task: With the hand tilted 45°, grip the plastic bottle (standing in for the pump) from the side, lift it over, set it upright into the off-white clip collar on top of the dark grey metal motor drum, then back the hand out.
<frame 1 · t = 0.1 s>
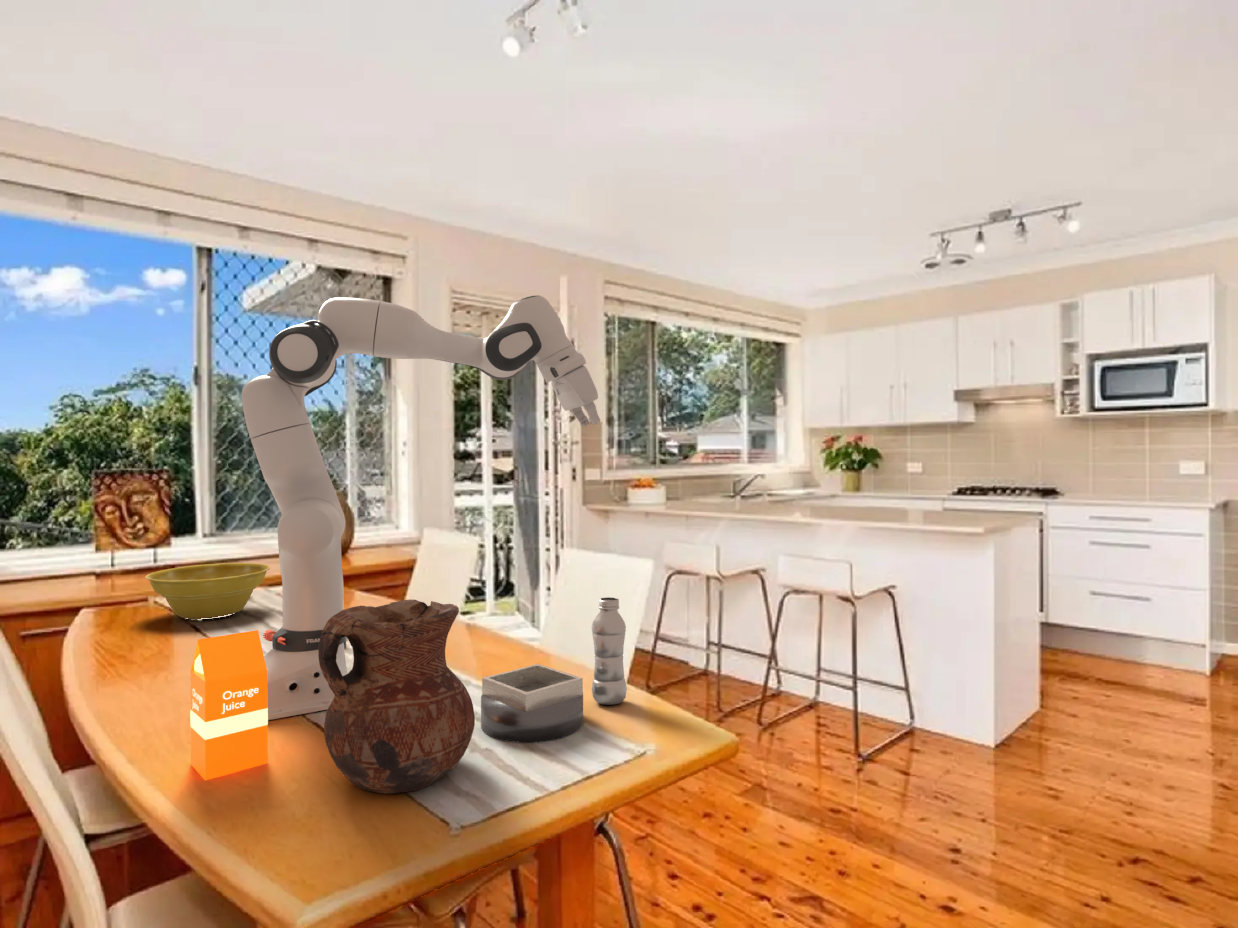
hand: (591, 424, 159), 54 cm above the table, tool tilted 30°, fingers open, 8 cm apart
jug: (401, 775, 110), on the table
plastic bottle: (609, 703, 141), on the table
planter bowl: (210, 616, 217), on the table
motor: (532, 722, 131), on the table
orange juice: (229, 765, 113), on the table
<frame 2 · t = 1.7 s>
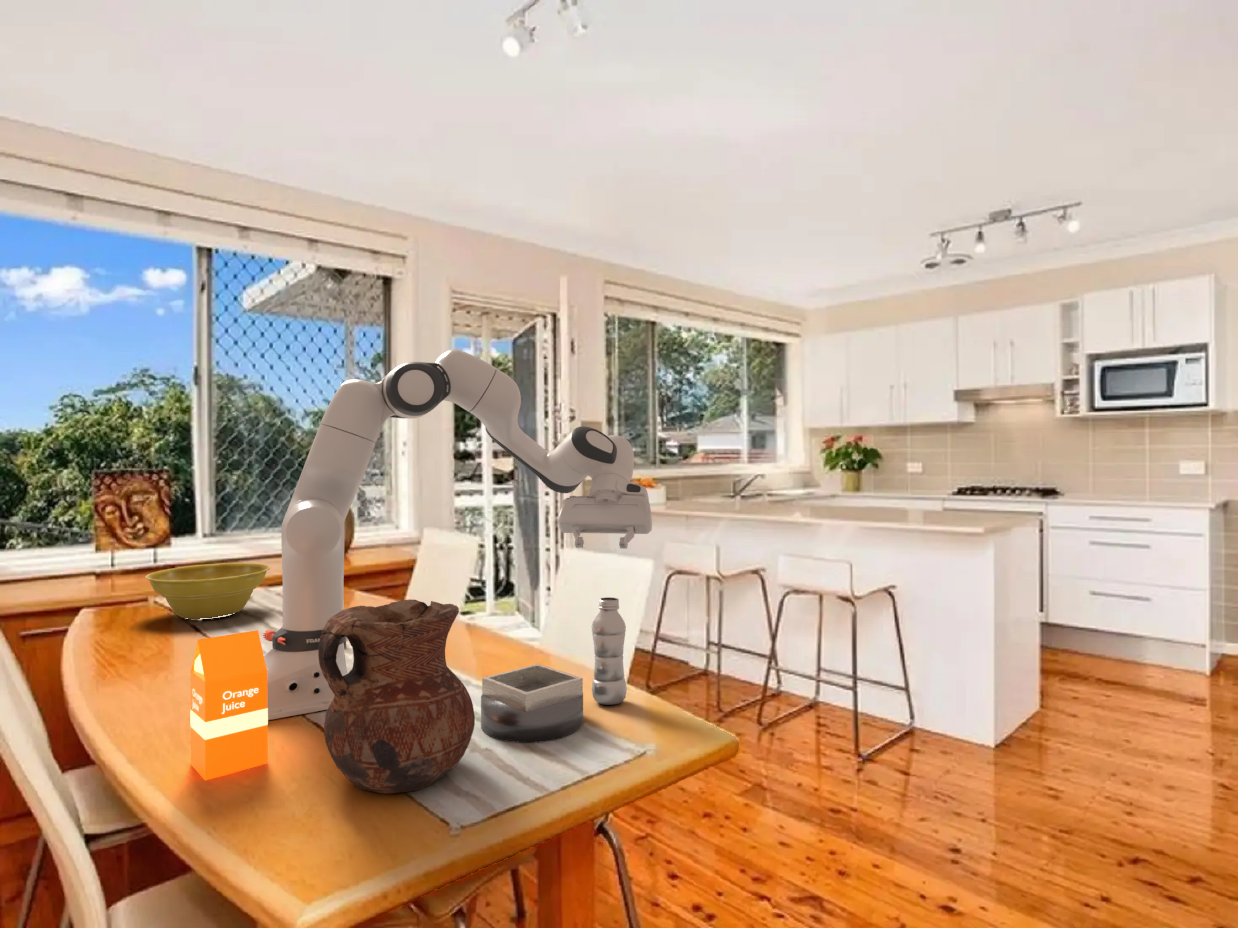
hand: (600, 546, 153), 29 cm above the table, tool tilted 45°, fingers open, 8 cm apart
nothing on the table moved.
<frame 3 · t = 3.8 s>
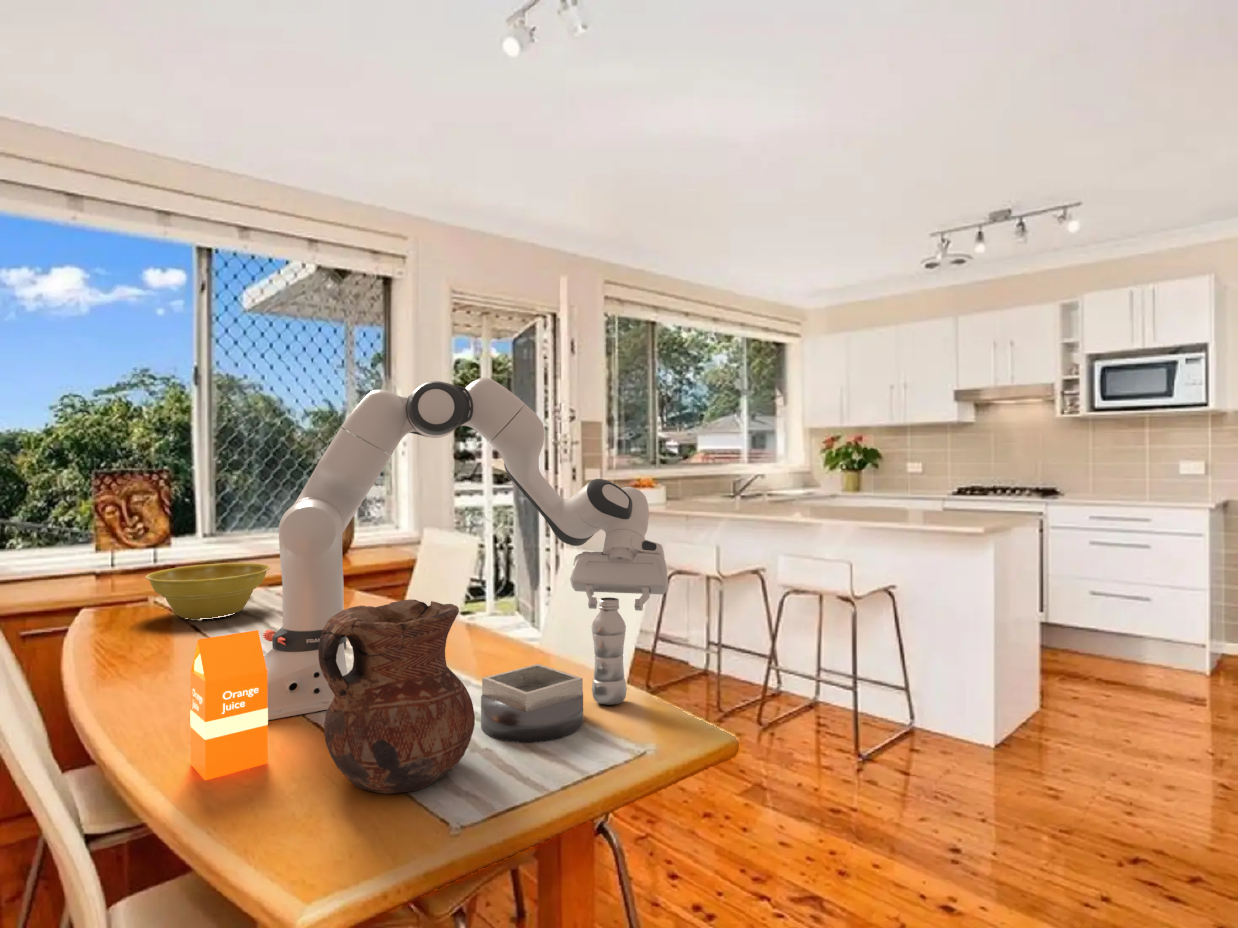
hand: (615, 608, 148), 17 cm above the table, tool tilted 45°, fingers open, 8 cm apart
nothing on the table moved.
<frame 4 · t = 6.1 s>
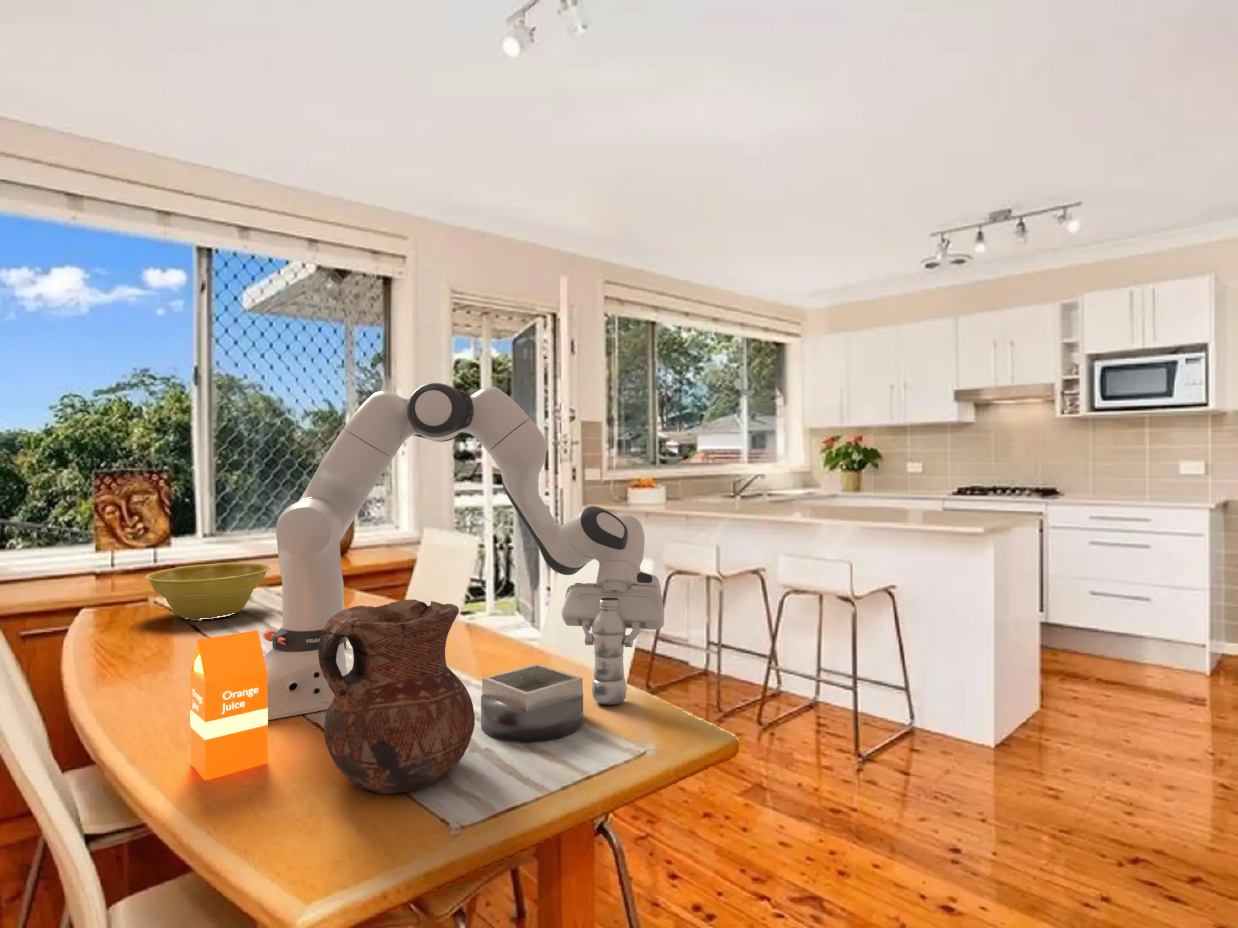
hand: (608, 644, 141), 11 cm above the table, tool tilted 45°, fingers closed on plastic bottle, 6 cm apart
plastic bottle: (609, 703, 141), on the table, touching gripper
everything else where it was.
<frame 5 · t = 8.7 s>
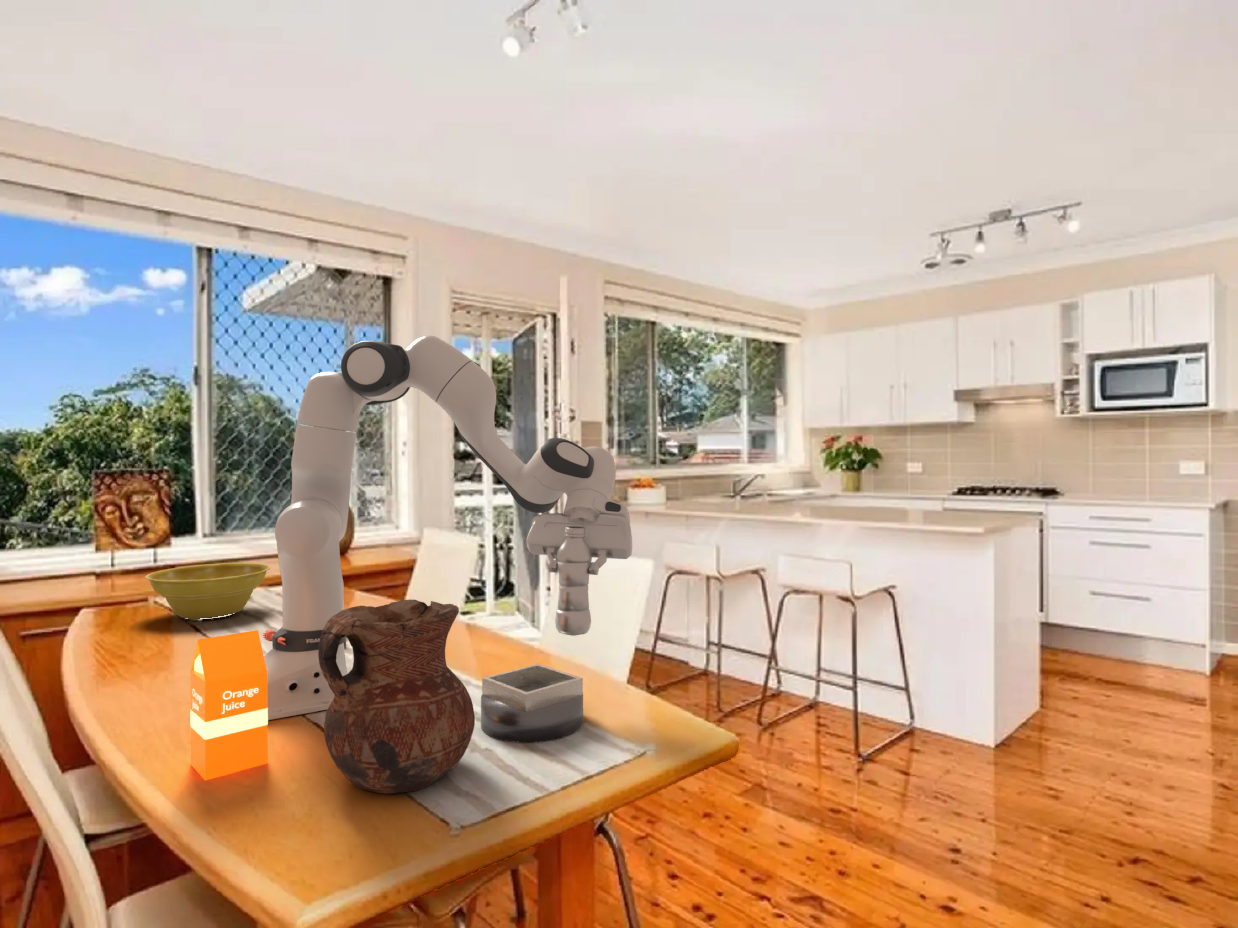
hand: (572, 571, 136), 26 cm above the table, tool tilted 45°, fingers closed on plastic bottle, 6 cm apart
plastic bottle: (572, 635, 137), point 14 cm above the table, touching gripper
everything else where it was.
when the fingers open (18 cm above the table, at t = 11.7 s): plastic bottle stays where it is, resting on motor.
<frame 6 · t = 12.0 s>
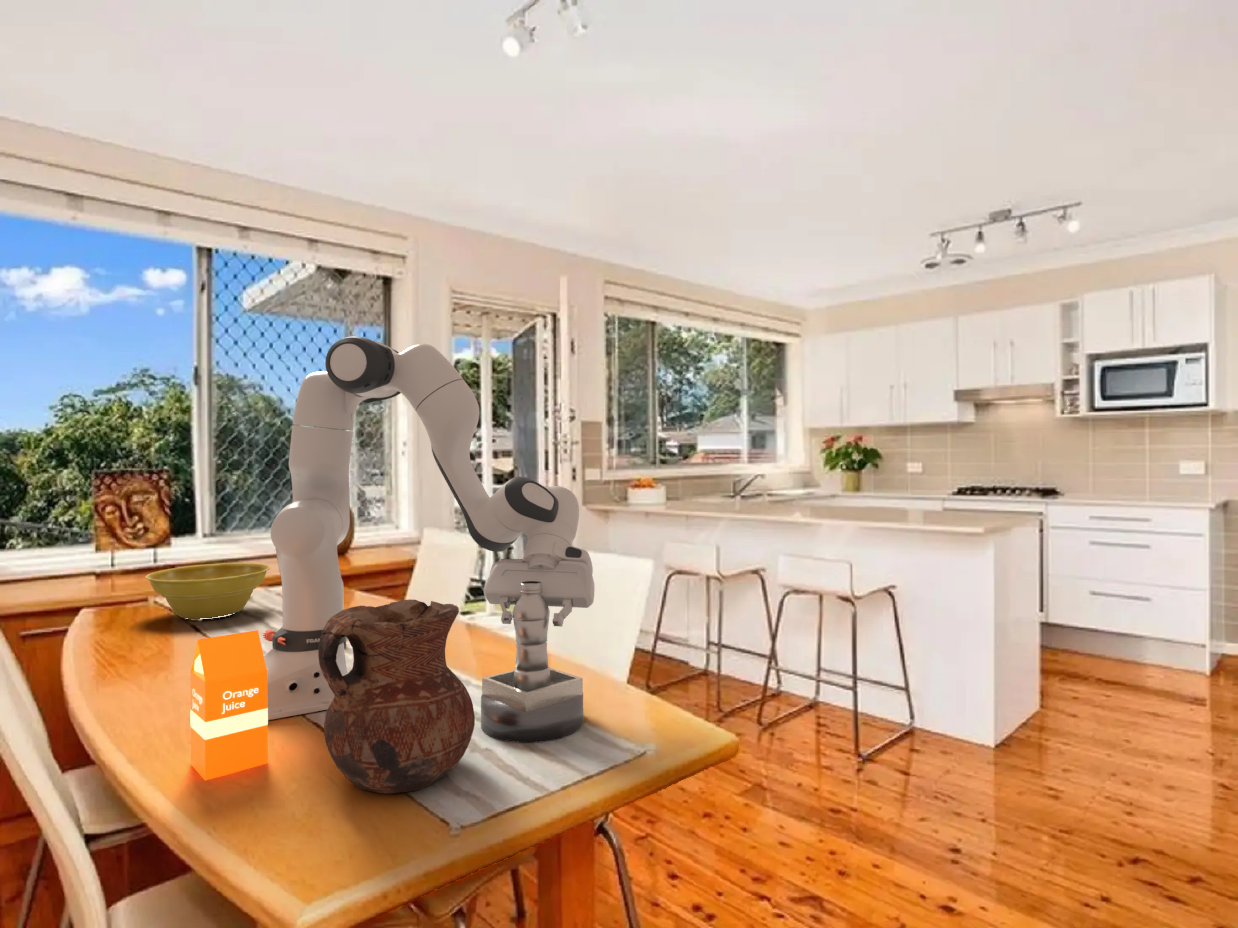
hand: (531, 623, 130), 18 cm above the table, tool tilted 45°, fingers open, 8 cm apart
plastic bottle: (532, 695, 131), point 5 cm above the table, touching motor
everything else where it was.
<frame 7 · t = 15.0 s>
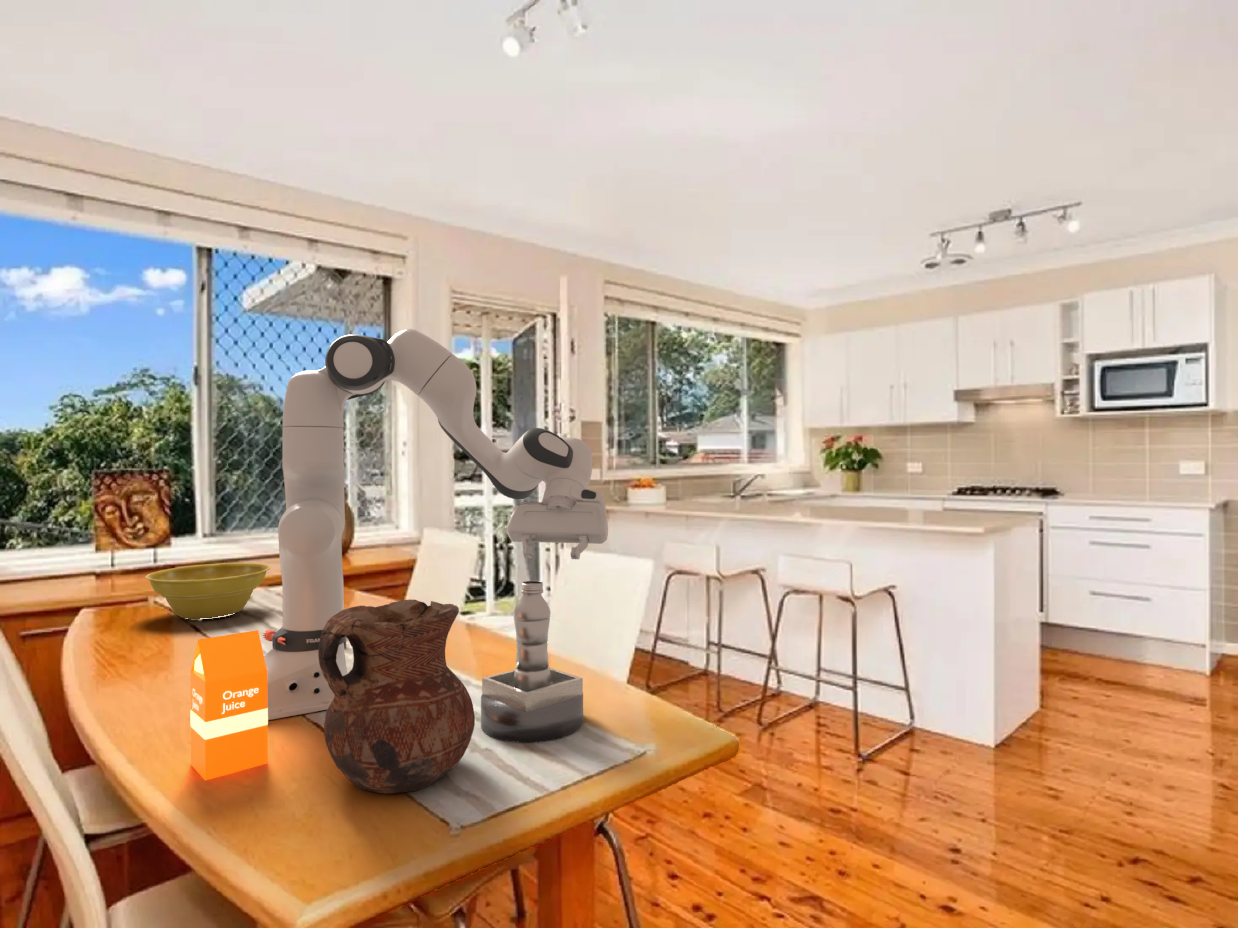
hand: (550, 556, 143), 28 cm above the table, tool tilted 45°, fingers open, 8 cm apart
nothing on the table moved.
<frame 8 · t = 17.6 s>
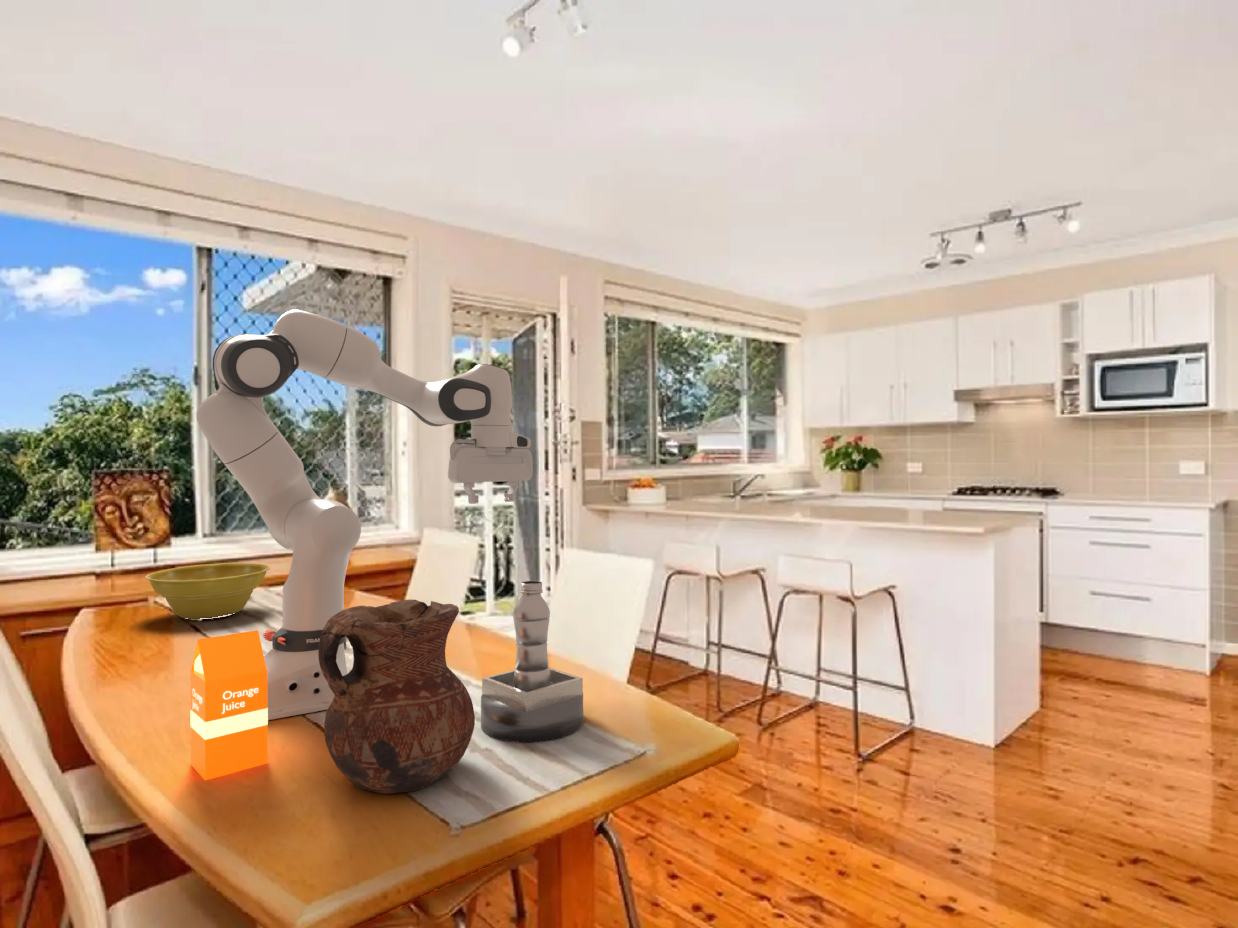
hand: (491, 502, 162), 37 cm above the table, tool pointing down, fingers open, 8 cm apart
nothing on the table moved.
at the end: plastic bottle 0.0 cm off-centre on the motor, point 4.8 cm above the motor's base; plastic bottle tilted 0°; the gripper is holding nothing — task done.
